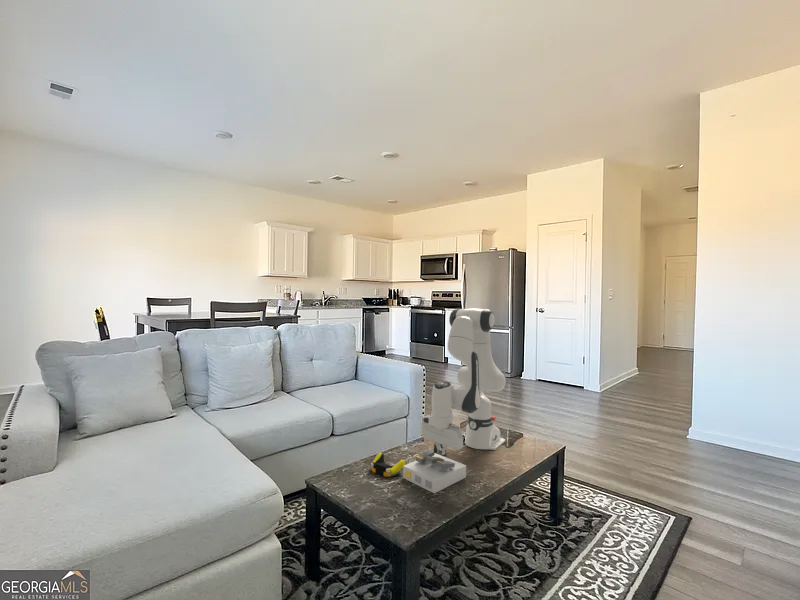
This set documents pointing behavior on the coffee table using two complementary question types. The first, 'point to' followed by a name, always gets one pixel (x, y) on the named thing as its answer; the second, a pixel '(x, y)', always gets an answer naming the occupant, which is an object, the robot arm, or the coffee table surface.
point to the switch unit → (433, 474)
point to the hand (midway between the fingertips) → (441, 453)
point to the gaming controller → (386, 466)
